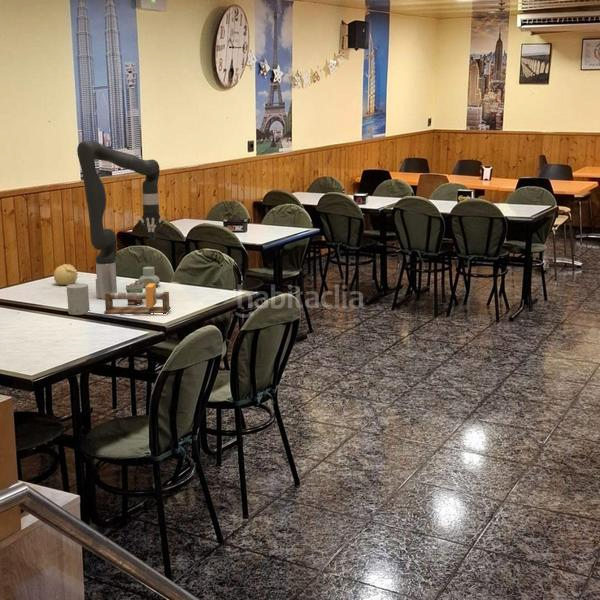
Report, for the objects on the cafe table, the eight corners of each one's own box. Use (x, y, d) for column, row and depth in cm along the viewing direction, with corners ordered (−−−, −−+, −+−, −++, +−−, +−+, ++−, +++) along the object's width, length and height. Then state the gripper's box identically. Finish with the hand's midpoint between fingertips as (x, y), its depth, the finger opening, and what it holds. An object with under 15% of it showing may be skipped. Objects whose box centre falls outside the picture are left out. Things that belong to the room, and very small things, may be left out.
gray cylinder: (63, 313, 388) (62, 287, 385) (76, 309, 397) (74, 282, 394) (82, 315, 385) (80, 288, 382) (94, 310, 393) (92, 284, 391)
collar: (146, 306, 384) (145, 287, 382) (150, 302, 392) (149, 283, 390) (152, 306, 384) (151, 287, 382) (156, 302, 392) (155, 283, 390)
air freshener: (161, 284, 447) (160, 265, 445) (158, 288, 439) (157, 269, 437) (140, 285, 447) (139, 266, 445) (137, 288, 439) (136, 269, 437)
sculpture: (78, 285, 446) (77, 265, 444) (54, 287, 443) (52, 266, 441) (78, 281, 457) (76, 261, 455) (54, 283, 454) (53, 262, 452)
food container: (139, 306, 400) (138, 285, 397) (126, 306, 401) (125, 285, 398) (148, 301, 411) (147, 280, 409) (136, 300, 413) (135, 280, 410)
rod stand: (104, 314, 385) (103, 295, 383) (110, 309, 395) (109, 290, 393) (166, 315, 384) (165, 295, 382) (170, 309, 393) (169, 290, 391)
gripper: (166, 202, 405) (167, 238, 409) (138, 201, 406) (140, 238, 410) (162, 204, 398) (164, 241, 402) (134, 203, 399) (136, 240, 403)
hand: (152, 239), depth 406 cm, fingers closed
